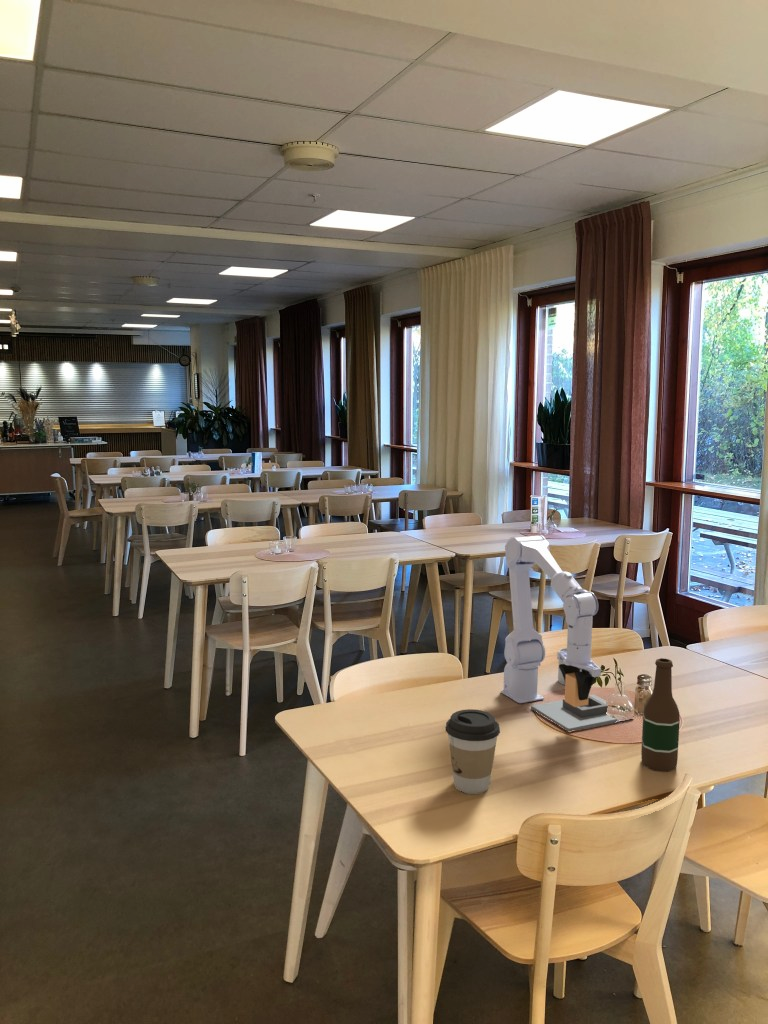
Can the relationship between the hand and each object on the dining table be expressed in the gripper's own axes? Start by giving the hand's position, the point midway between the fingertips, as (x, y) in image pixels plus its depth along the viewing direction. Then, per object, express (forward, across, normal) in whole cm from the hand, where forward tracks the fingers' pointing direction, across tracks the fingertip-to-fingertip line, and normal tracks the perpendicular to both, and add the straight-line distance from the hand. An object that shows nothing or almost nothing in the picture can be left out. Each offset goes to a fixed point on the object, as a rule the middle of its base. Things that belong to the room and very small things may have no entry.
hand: (577, 696), depth 198 cm
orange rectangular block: (+2, 0, 0) cm, 2 cm away
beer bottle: (+9, +23, +5) cm, 25 cm away
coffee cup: (+9, +15, -38) cm, 42 cm away
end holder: (+8, -7, +7) cm, 13 cm away
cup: (+9, -26, +19) cm, 33 cm away
